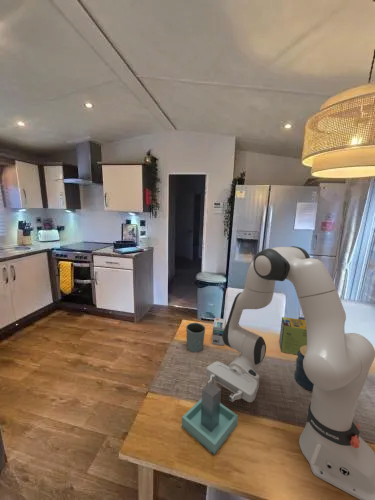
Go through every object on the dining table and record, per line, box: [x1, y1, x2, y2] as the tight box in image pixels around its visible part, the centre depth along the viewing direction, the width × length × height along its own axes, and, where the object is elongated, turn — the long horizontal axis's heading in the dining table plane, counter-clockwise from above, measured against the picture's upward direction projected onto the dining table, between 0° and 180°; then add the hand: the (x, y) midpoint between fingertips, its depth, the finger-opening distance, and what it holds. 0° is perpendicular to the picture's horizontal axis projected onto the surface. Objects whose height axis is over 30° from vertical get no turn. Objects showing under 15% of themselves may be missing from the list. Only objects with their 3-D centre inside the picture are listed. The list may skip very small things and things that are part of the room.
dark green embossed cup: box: [185, 322, 206, 353], centre depth 126 cm, size 10×10×12 cm
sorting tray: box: [181, 397, 239, 456], centre depth 82 cm, size 14×14×4 cm
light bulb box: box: [211, 317, 227, 346], centre depth 134 cm, size 11×7×11 cm, turn 168°
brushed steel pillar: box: [201, 382, 222, 432], centre depth 81 cm, size 5×5×14 cm
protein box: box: [278, 316, 307, 356], centre depth 126 cm, size 10×15×16 cm
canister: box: [294, 345, 314, 392], centre depth 103 cm, size 13×13×18 cm
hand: (219, 392), depth 84 cm, fingers open, 8 cm apart
